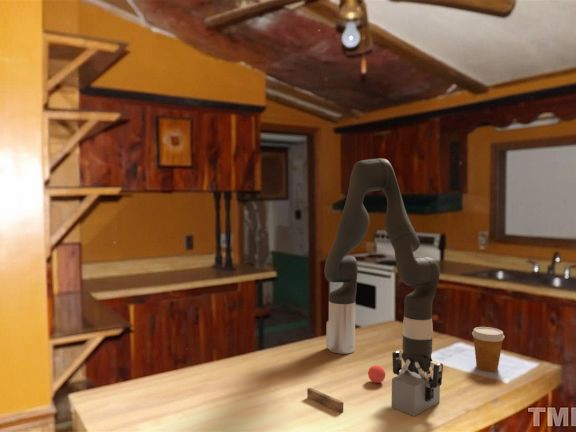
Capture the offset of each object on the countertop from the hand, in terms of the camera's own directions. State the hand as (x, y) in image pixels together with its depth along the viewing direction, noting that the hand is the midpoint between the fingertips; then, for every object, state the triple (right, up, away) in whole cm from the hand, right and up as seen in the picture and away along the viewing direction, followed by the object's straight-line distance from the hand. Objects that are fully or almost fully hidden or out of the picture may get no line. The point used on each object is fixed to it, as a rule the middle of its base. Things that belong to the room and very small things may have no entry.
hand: (415, 396), depth 128 cm
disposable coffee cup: (+30, -1, +27) cm, 40 cm away
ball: (-8, +1, +15) cm, 17 cm away
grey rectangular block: (0, -2, 0) cm, 2 cm away
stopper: (-24, -2, 0) cm, 24 cm away
